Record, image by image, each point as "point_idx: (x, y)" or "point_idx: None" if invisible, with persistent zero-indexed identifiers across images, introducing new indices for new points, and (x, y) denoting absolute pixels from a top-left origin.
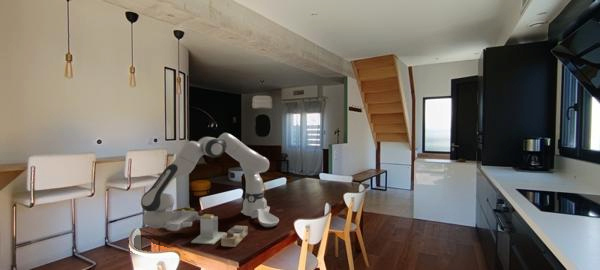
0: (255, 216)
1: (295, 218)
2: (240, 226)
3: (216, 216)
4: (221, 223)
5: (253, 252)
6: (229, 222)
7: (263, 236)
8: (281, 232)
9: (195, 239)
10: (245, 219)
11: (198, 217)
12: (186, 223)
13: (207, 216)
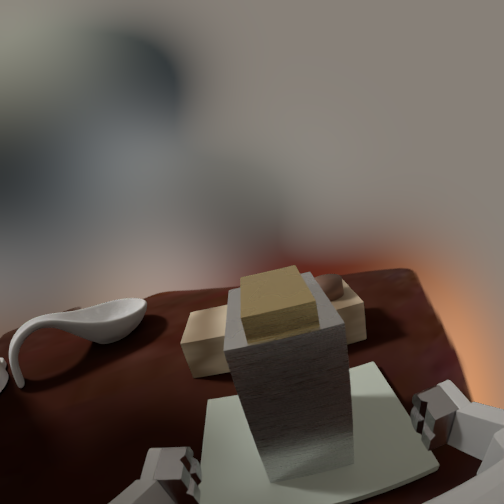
0: (21, 373)
1: None
2: (194, 326)
3: (230, 294)
4: (33, 482)
5: (348, 274)
6: (32, 450)
7: None
8: (185, 296)
9: (394, 473)
10: (22, 403)
11: (184, 476)
12: (486, 408)
13: (301, 278)
